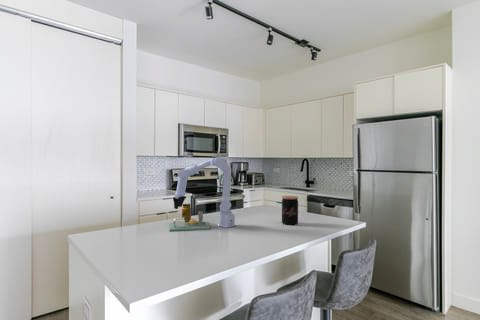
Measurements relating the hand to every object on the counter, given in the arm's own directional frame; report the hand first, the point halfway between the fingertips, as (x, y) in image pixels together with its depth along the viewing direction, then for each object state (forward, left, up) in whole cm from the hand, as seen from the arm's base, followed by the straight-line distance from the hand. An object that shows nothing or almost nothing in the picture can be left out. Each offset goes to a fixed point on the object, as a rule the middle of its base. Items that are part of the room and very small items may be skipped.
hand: (177, 207), depth 183 cm
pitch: (-13, 0, -11) cm, 17 cm away
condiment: (+2, -8, -11) cm, 14 cm away
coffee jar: (-49, -55, -11) cm, 75 cm away
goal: (-10, +5, -9) cm, 14 cm away
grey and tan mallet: (-16, -7, -9) cm, 20 cm away
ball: (-14, -2, -7) cm, 16 cm away
